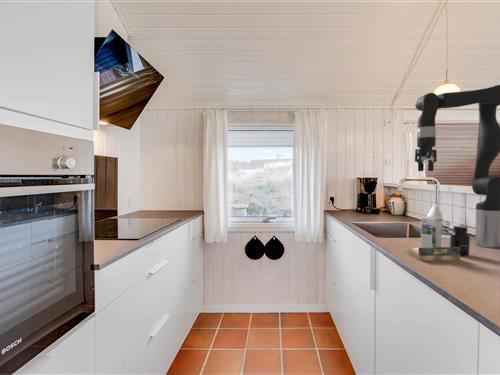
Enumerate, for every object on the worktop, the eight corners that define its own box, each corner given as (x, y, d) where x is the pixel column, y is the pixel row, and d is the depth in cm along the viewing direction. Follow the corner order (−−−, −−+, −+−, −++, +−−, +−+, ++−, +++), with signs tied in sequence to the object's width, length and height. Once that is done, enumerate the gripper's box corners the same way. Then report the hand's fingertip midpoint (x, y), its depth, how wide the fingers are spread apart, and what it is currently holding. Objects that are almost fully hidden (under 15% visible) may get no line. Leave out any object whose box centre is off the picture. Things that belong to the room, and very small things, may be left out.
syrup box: (420, 250, 121) (420, 217, 120) (427, 248, 124) (427, 215, 123) (434, 253, 116) (434, 218, 115) (441, 251, 119) (442, 217, 119)
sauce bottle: (445, 232, 165) (446, 202, 164) (435, 233, 163) (436, 202, 162) (433, 230, 172) (433, 201, 172) (423, 231, 170) (423, 201, 169)
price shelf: (440, 251, 126) (440, 240, 126) (460, 260, 114) (460, 247, 113) (404, 252, 126) (404, 241, 126) (420, 260, 114) (420, 248, 114)
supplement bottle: (461, 257, 118) (461, 228, 117) (445, 253, 124) (446, 225, 124) (473, 255, 119) (474, 227, 119) (457, 251, 126) (458, 224, 125)
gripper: (426, 135, 128) (425, 171, 129) (442, 136, 135) (442, 170, 136) (409, 137, 135) (409, 171, 136) (426, 138, 142) (426, 171, 143)
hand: (425, 171), depth 136 cm, fingers open, 8 cm apart
